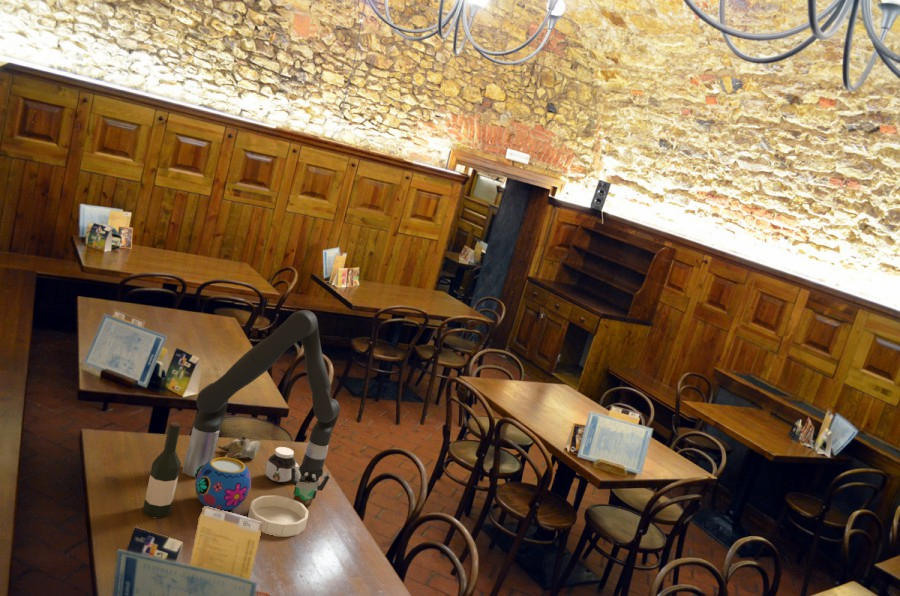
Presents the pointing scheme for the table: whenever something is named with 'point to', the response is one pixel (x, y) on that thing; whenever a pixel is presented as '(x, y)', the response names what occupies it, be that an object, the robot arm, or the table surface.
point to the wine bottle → (163, 477)
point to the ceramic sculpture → (241, 448)
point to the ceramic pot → (222, 483)
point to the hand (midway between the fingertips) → (303, 497)
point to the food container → (305, 491)
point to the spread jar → (281, 466)
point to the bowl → (279, 515)
